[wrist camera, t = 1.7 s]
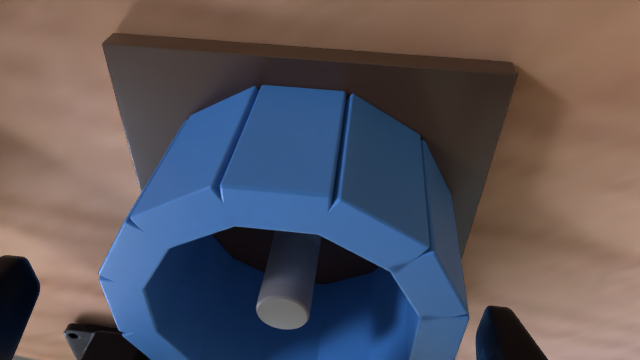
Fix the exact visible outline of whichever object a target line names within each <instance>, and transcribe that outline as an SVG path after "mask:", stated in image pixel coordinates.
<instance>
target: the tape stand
mask: <svg viewBox="0 0 640 360" xmlns="http://www.w3.org/2000/svg"><path fill="white" fill-rule="evenodd" d="M102 46H103V50H104V54H105V58H106V61H107V65H108V69H109V73H110V77H111V81H112V84H113V88H114V92H115V96H116V100H117V103H118V107H119V111H120V115H121V119H122V123H123V126H124V130H125V134H126V138H127V142H128V145H129V149H130V153H131V157H132V161H133V164H134V168H135V172H136V176H137V180H138V184H139V187H140V191H141V192H142V191H143V189H144V188H145V186H146V184H147V183H148V181H149V179H150V178H151V176H152V174H153V173H154V171H155V169H156V168H157V166H158V164H159V163H160V161H161V159H162V158H163V156H164V154H165V153H166V151H167V149H168V148H169V146H170V144H171V143H172V141H173V139H174V138H175V136H176V134H177V133H178V131H179V129H180V128H181V126H182V124H183V123H184V121H185V120H186V119H187V120H188V118H189V117H190V115H192V114H194V113H197V112H199V111H201V110H203V109H205V108H207V107H210V106H212V105H214V104H216V103H218V102H221V101H223V100H225V99H227V98H229V97H231V96H234V95H236V94H238V93H240V92H242V91H244V90H247V89H249V88H251V87H253V86H256V87H257V88H258V90H259V91H260V88H261V86H262V85H272V86H285V87H298V88H310V89H323V90H336V91H344V92H346V100H347V99H348V98H349V96H350V95H351V94H355V95H356V96H358V97H360V98H361V99H363V100H364V101H366V102H368V103H369V104H371V105H373V106H374V107H376V108H377V109H379V110H381V111H382V112H384V113H386V114H387V115H389V116H390V117H392V118H394V119H395V120H397V121H399V122H400V123H402V124H403V125H405V126H407V127H408V128H410V129H412V130H413V131H415V132H416V133H418V134H419V135H420V139H421V140H424V141H425V142H426V144H427V146H428V148H429V150H430V152H431V154H432V156H433V158H434V160H435V162H436V165H437V167H438V169H439V171H440V173H441V175H442V177H443V179H444V181H445V183H446V185H447V187H448V190H449V192H450V194H451V196H452V203H453V210H454V216H455V223H456V230H457V237H458V244H459V250H460V257H461V259H462V255H463V252H464V249H465V246H466V242H467V239H468V236H469V233H470V229H471V226H472V223H473V220H474V216H475V213H476V210H477V207H478V203H479V200H480V197H481V194H482V190H483V187H484V184H485V181H486V177H487V174H488V171H489V168H490V164H491V161H492V158H493V155H494V151H495V148H496V145H497V142H498V138H499V135H500V132H501V129H502V125H503V122H504V119H505V116H506V112H507V109H508V106H509V103H510V99H511V96H512V93H513V90H514V86H515V83H516V80H517V77H518V74H517V71H516V69H515V67H514V64H513V63H512V62H500V61H486V60H472V59H459V58H445V57H431V56H418V55H404V54H391V53H377V52H363V51H350V50H336V49H322V48H309V47H295V46H281V45H268V44H254V43H241V42H227V41H213V40H200V39H186V38H172V37H159V36H145V35H131V34H118V33H113V34H112V35H111V36H109V37H108V38H107V39H106V40H105V41H104V42H103V43H102ZM212 235H213V236H214V237H215V238H216V239H217V241H218V242H219V243H220V244H221V245H222V246H223V247H224V248H225V250H226V251H227V252H228V253H229V254H230V255H231V256H232V258H234V259H236V260H239V261H241V262H243V263H245V264H247V265H249V266H251V267H253V268H255V269H257V270H259V271H262V272H264V277H263V281H262V285H261V289H260V293H259V297H258V301H257V305H256V312H257V315H258V317H259V318H260V319H261V320H262V321H263V322H264V323H266V324H268V325H270V326H272V327H275V328H279V329H296V328H299V327H301V326H303V325H304V324H305V323H306V322H307V321H308V319H309V317H310V310H311V303H312V297H313V290H314V283H316V284H325V285H326V284H330V283H333V282H337V281H341V280H345V279H349V278H352V277H356V276H360V275H364V274H368V273H371V272H374V271H375V270H376V269H377V268H378V267H379V266H378V265H376V264H374V263H372V262H370V261H368V260H366V259H364V258H363V257H361V256H359V255H357V254H355V253H353V252H351V251H349V250H347V249H345V248H343V247H341V246H339V245H337V244H335V243H334V242H332V241H330V240H328V239H326V238H324V237H322V236H320V235H318V234H308V233H298V232H288V231H277V230H267V229H257V228H247V227H237V226H234V227H231V228H228V229H225V230H222V231H219V232H217V233H214V234H212Z"/></svg>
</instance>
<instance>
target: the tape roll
mask: <svg viewBox="0 0 640 360" xmlns="http://www.w3.org/2000/svg"><path fill="white" fill-rule="evenodd" d="M234 226H237V227H247V228H257V229H267V230H277V231H288V232H298V233H308V234H318V235H320V236H322V237H324V238H326V239H328V240H330V241H332V242H334V243H335V244H337V245H339V246H341V247H343V248H345V249H347V250H349V251H351V252H353V253H355V254H357V255H359V256H361V257H363V258H364V259H366V260H368V261H370V262H372V263H374V264H376V265H378V266H379V267H378V268H377V269H376V270H375V271H374V272H371V273H368V274H364V275H360V276H356V277H352V278H349V279H345V280H341V281H337V282H333V283H330V284H326V285H325V284H316V283H314V290H313V297H312V303H311V310H310V317H309V319H308V321H307V322H306V323H305V324H304V325H303V326H301V327H299V328H296V329H279V328H275V327H272V326H270V325H268V324H266V323H264V322H263V321H262V320H261V319H260V318H259V317H258V315H257V312H256V305H257V301H258V297H259V293H260V289H261V285H262V281H263V277H264V272H262V271H259V270H257V269H255V268H253V267H251V266H249V265H247V264H245V263H243V262H241V261H239V260H236V259H234V258H232V256H231V255H230V254H229V253H228V252H227V251H226V250H225V248H224V247H223V246H222V245H221V244H220V243H219V242H218V241H217V239H216V238H215V237H214V236H213V235H212V234H214V233H217V232H219V231H222V230H225V229H228V228H231V227H234ZM99 275H100V277H99V281H100V284H101V286H102V289H103V292H104V294H105V297H106V299H107V302H108V304H109V307H110V310H111V312H112V315H113V317H114V320H115V322H116V325H117V328H118V330H119V331H121V332H123V334H122V336H123V337H124V338H125V339H127V340H128V341H129V342H130V343H132V344H133V345H134V346H135V347H136V348H138V349H139V350H140V351H141V352H143V353H144V354H145V355H146V356H147V357H149V358H150V359H151V360H455V357H456V354H457V351H458V349H459V346H460V343H461V340H462V338H463V335H464V332H465V329H466V327H467V324H468V321H469V312H468V304H467V298H466V291H465V284H464V277H463V271H462V264H461V257H460V250H459V244H458V237H457V230H456V223H455V216H454V210H453V203H452V196H451V194H450V192H449V190H448V187H447V185H446V183H445V181H444V179H443V177H442V175H441V173H440V171H439V169H438V167H437V165H436V162H435V160H434V158H433V156H432V154H431V152H430V150H429V148H428V146H427V144H426V142H425V141H424V140H421V139H420V135H419V134H418V133H416V132H415V131H413V130H412V129H410V128H408V127H407V126H405V125H403V124H402V123H400V122H399V121H397V120H395V119H394V118H392V117H390V116H389V115H387V114H386V113H384V112H382V111H381V110H379V109H377V108H376V107H374V106H373V105H371V104H369V103H368V102H366V101H364V100H363V99H361V98H360V97H358V96H356V95H355V94H351V95H350V96H349V98H348V99H347V100H346V92H344V91H336V90H323V89H310V88H298V87H285V86H272V85H262V86H261V88H260V91H259V90H258V88H257V87H256V86H253V87H251V88H249V89H247V90H244V91H242V92H240V93H238V94H236V95H234V96H231V97H229V98H227V99H225V100H223V101H221V102H218V103H216V104H214V105H212V106H210V107H207V108H205V109H203V110H201V111H199V112H197V113H194V114H192V115H190V117H189V118H188V120H187V119H186V120H185V121H184V123H183V124H182V126H181V128H180V129H179V131H178V133H177V134H176V136H175V138H174V139H173V141H172V143H171V144H170V146H169V148H168V149H167V151H166V153H165V154H164V156H163V158H162V159H161V161H160V163H159V164H158V166H157V168H156V169H155V171H154V173H153V174H152V176H151V178H150V179H149V181H148V183H147V184H146V186H145V188H144V189H143V191H142V192H141V194H140V196H139V197H138V199H137V201H136V202H135V204H134V206H133V207H132V209H131V211H130V212H129V214H128V216H127V217H126V219H125V221H124V223H123V225H122V227H121V229H120V231H119V233H118V235H117V237H116V239H115V241H114V243H113V244H112V246H111V248H110V250H109V252H108V254H107V256H106V258H105V260H104V262H103V264H102V266H101V268H100V270H99Z"/></svg>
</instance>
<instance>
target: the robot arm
mask: <svg viewBox="0 0 640 360" xmlns="http://www.w3.org/2000/svg"><path fill="white" fill-rule="evenodd" d="M39 292H40V283H39V280H38V278H37V276H36V274H35V272H34V271H33V269H32V267H31V265H30V263H29V261H28V260H27V259H26V258H25V257H20V256H11V255H5V256H2V257H0V360H12V358H13V356H14V354H15V351H16V349H17V347H18V344H19V342H20V339H21V337H22V335H23V332H24V330H25V327H26V325H27V322H28V320H29V318H30V315H31V313H32V310H33V308H34V306H35V303H36V301H37V298H38V296H39ZM122 334H123V332H121V331H119V330H118V328H110V327H102V326H93V325H84V324H75V323H71V324H69V325H68V326H67V328H66V330H65V332H64V335H65V337H66V339H67V341H68V343H69V345H70V347H71V349H72V351H73V353H74V355H75V357H76V359H77V360H151V359H150V358H149V357H147V356H146V355H145V354H144V353H143V352H141V351H140V350H139V349H138V348H136V347H135V346H134V345H133V344H132V343H130V342H129V341H128V340H127V339H125V338H124V337H123V336H122ZM476 358H477V360H548V359H547V357H546V356H545V355H544V353H543V352H542V351H541V349H540V348H539V346H538V345H537V344H536V342H535V341H534V340H533V338H532V337H531V335H530V334H529V333H528V331H527V330H526V329H525V327H524V326H523V325H522V323H521V322H520V320H519V319H518V318H517V316H516V315H515V314H514V312H513V311H512V310H511V309H509V308H507V307H500V306H488V307H487V308H486V309H485V311H484V314H483V316H482V319H481V321H480V324H479V327H478V329H477V333H476Z"/></svg>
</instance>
